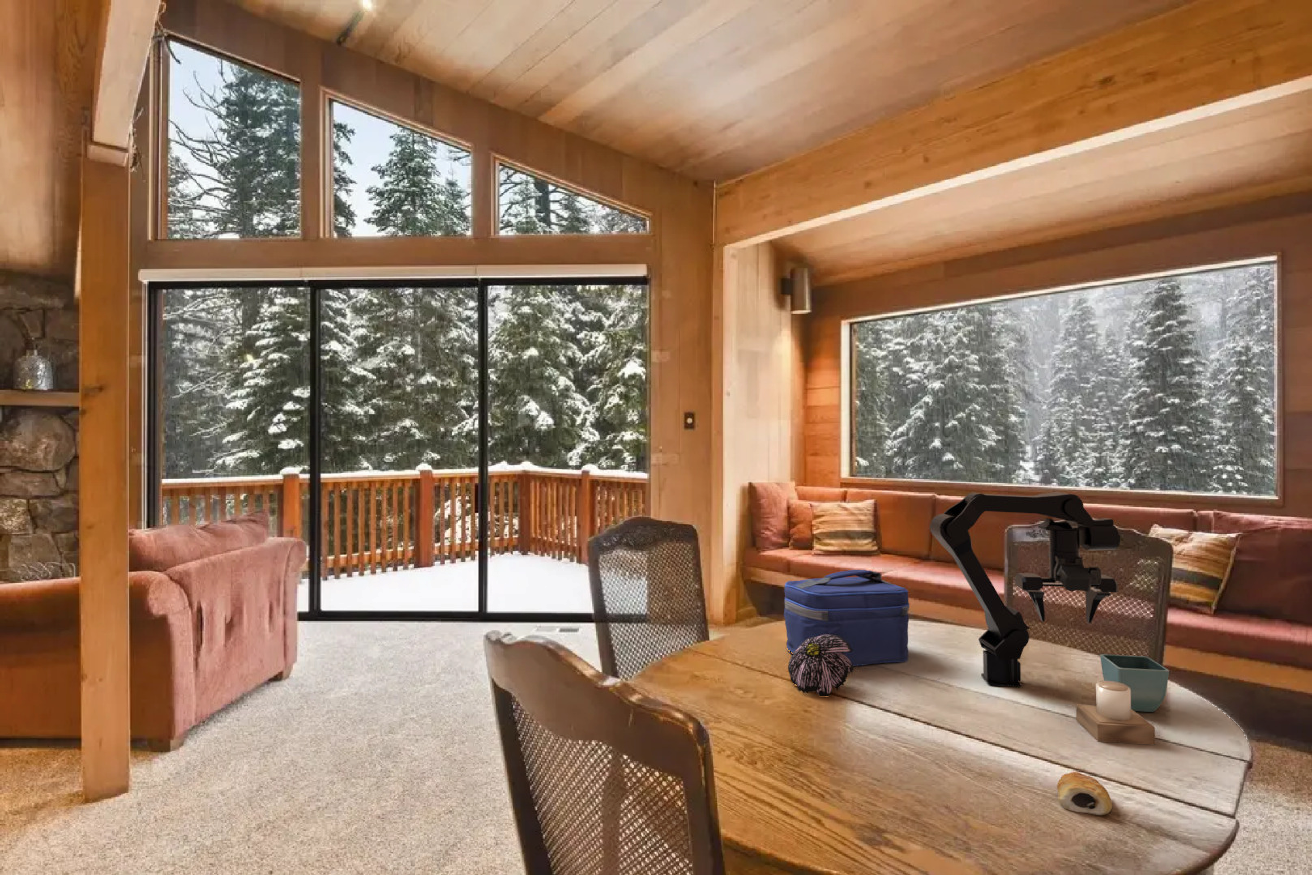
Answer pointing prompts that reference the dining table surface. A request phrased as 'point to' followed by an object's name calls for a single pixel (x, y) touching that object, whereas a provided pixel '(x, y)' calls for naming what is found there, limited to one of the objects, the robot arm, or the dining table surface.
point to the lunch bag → (850, 615)
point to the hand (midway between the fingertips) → (1065, 621)
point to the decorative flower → (820, 664)
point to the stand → (1115, 727)
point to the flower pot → (1137, 679)
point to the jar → (1113, 700)
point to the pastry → (1083, 794)
